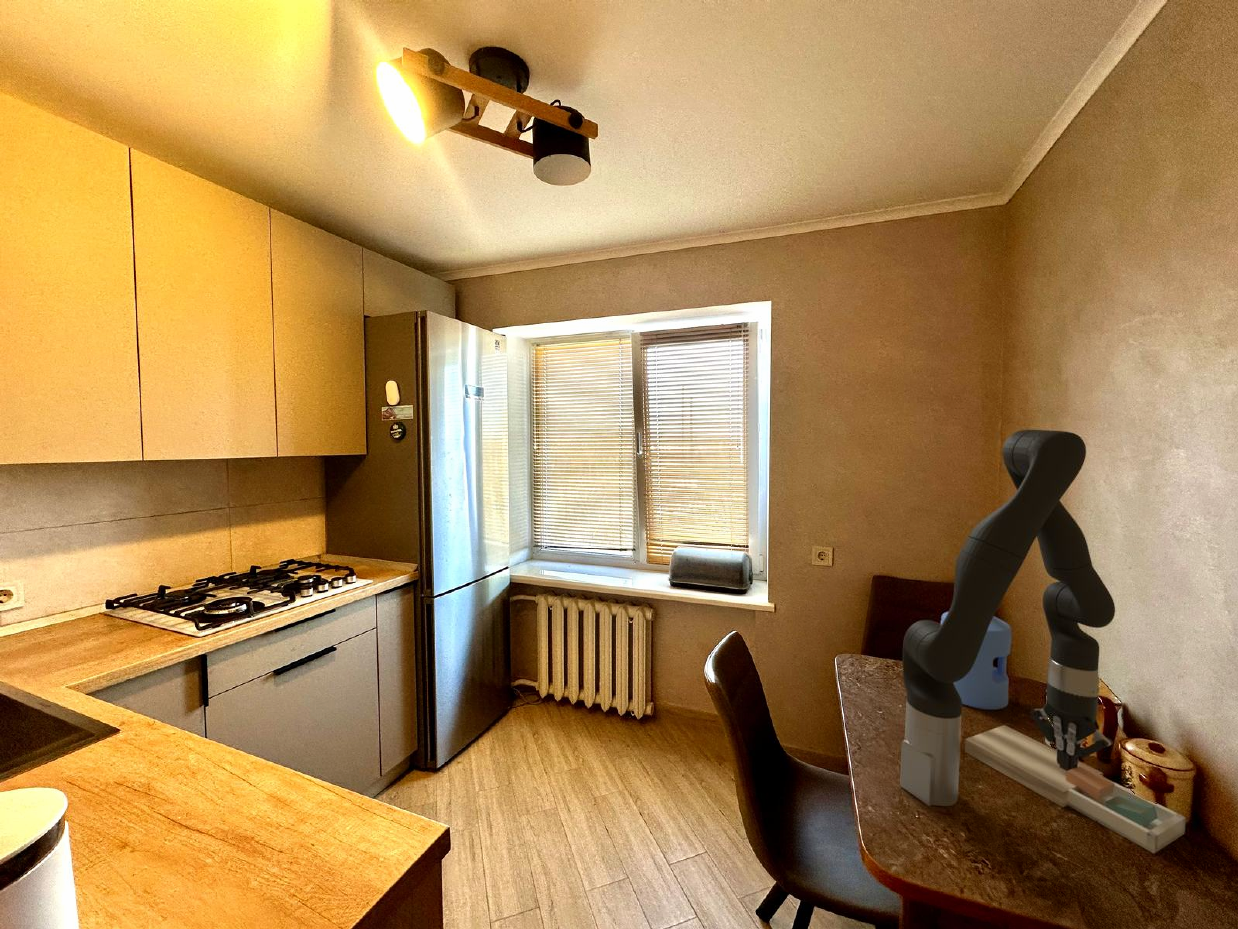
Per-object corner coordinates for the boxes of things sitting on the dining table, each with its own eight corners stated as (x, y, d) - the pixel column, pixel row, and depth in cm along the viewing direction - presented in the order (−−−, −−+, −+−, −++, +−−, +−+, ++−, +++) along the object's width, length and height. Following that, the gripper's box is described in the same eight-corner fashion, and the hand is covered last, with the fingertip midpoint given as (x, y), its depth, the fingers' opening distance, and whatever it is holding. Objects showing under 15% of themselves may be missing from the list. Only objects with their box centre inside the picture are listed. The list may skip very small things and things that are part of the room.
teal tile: (1104, 802, 92) (1107, 814, 92) (1140, 813, 88) (1143, 826, 87) (1119, 795, 94) (1122, 806, 94) (1154, 806, 90) (1157, 818, 89)
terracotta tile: (1097, 799, 93) (1099, 789, 93) (1065, 780, 97) (1067, 770, 97) (1112, 792, 95) (1114, 783, 94) (1080, 774, 99) (1082, 765, 99)
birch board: (1062, 807, 94) (1063, 792, 94) (964, 752, 111) (965, 739, 111) (1102, 787, 100) (1103, 773, 100) (1003, 737, 116) (1003, 725, 116)
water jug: (944, 703, 131) (949, 599, 130) (932, 677, 146) (936, 583, 144) (1017, 717, 125) (1023, 608, 123) (997, 688, 139) (1002, 590, 138)
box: (1154, 853, 84) (1155, 836, 84) (1067, 805, 95) (1068, 790, 95) (1184, 833, 88) (1185, 817, 88) (1098, 789, 99) (1099, 775, 99)
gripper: (1022, 674, 103) (1018, 754, 104) (1105, 705, 91) (1099, 796, 92) (1043, 667, 106) (1038, 745, 107) (1126, 697, 94) (1120, 785, 95)
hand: (1066, 769), depth 100 cm, fingers closed
